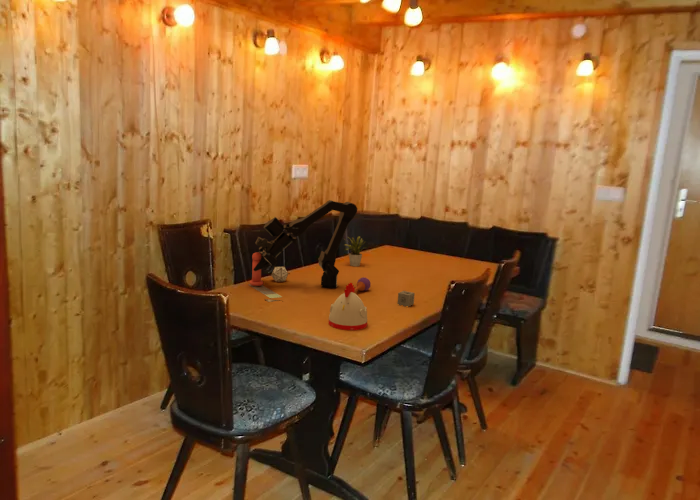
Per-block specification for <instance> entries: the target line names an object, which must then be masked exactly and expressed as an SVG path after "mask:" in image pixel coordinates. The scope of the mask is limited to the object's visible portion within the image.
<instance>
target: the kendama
mask: <svg viewBox="0 0 700 500" xmlns="http://www.w3.org/2000/svg"><path fill="white" fill-rule="evenodd" d="M370 288H371V280H370V279H369V278H367V277H364V276H363V277H361V278H359V279H358V280H357V283H356V287H355V290H354V293H355V294H356V293H357V292H358V291H361V292H366V291H368V290H370Z"/></svg>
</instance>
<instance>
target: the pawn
mask: <svg viewBox="0 0 700 500" xmlns="http://www.w3.org/2000/svg"><path fill="white" fill-rule="evenodd" d="M251 257H252V264H251V265H252V267H251V268H252V269H251V270H252V271H251V273H252V274H251V280H249V285H253V286H261V285H263V286H264V281H263V280H262V269H260V270H257V271H254V270H253V269H254V268H255V266H256V265H257V264H258V263H259V261H260V260H261V254H260V253H259V251H255V252H254V253H252V256H251Z"/></svg>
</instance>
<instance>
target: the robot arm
mask: <svg viewBox="0 0 700 500" xmlns="http://www.w3.org/2000/svg"><path fill="white" fill-rule="evenodd" d="M332 211H336V212H339V219H338V222H337V224H336V227H335V229H334V231H333V234H332V237H331V239H330V241H329V244H328V245H327V248H326V249H325V251H323V250H321V251H320V255H319V257H318V258H317V259H318V265H319V267H320V268H321V269H322V271H323V272H322V275H321V277H320V286H321V288H322V289H323V288H324V289H337V287H338V275H339V273H340V270H339V269H338V268H337V267H336V266H335V264H336V261H337V260H336V259H337V252H338V249H339V248H340V245H341V242H342V240H343V239H344V238H343V237H344V236H345V233H346V230H347V228H348V226H349V224H350V223H351V221H353V219H354V218H355V216H356V215H357V212H358V207H357V205H356V204H355V203H353V202H350V201H346V202H339V201H334V200H331V199H329V200H327V201H326V202H325V203H323V204H322V205H321V206H319V207H318V208H316V209H314V210H313V211H311V212H310V213H308V214H307V215H306V216H304V217H301V218H298V219H295V220H293V221H291V222H290V223H288V224H282V223H281V221H279V219H278V218H277V217H276V216H274V218H272V219H270V220H268V221H267V222H266V223H265V224H264V226H263V229H265V230H266V232H268V233H269V235H270V236H271V237H272V238H273V237H276V238H275V239H274V240H270V241H268V239H266V238H265V237H264V238H262V237H260V236H257V239H256V241H255V242H254V243H255V245H256V246H257V247H258V252H259V253H260V254H261V260H260V261H259V263H258V264H257V265H256V266H255V268H254V269H253V270H254V271H257V270H260V269H261V270H262V269H264V268H268V267H271V266H272V267H274V266H275V267H276V265H277V264H278V260H277V257H278V256H279V255H280V254H283V253H284V250H285V249H286V248H287V247H288V246H290V244H292V243H293V244H294V245H296V246H297V237H299V236H301V235H303V234H304V233H305V232H306V231H307V230H308V228H310V226H311V225H313V224H314V223H315V222H318V220H320V219H321V218H323V217H325V216H326V215H327V214H329V213H330V212H332ZM284 230H285V231H284Z"/></svg>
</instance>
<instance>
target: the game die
mask: <svg viewBox="0 0 700 500" xmlns="http://www.w3.org/2000/svg"><path fill="white" fill-rule="evenodd" d="M290 274H291V273H290V272H288V271H287V269H286V265H284V266H276V265H275V266H273V270H272V272H271V274H269V276H271V277H272V279H273V281H274V282H276V283H277V282H279V283H281V282H283V283H285V282H286V281H287V278H288V275H290Z"/></svg>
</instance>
